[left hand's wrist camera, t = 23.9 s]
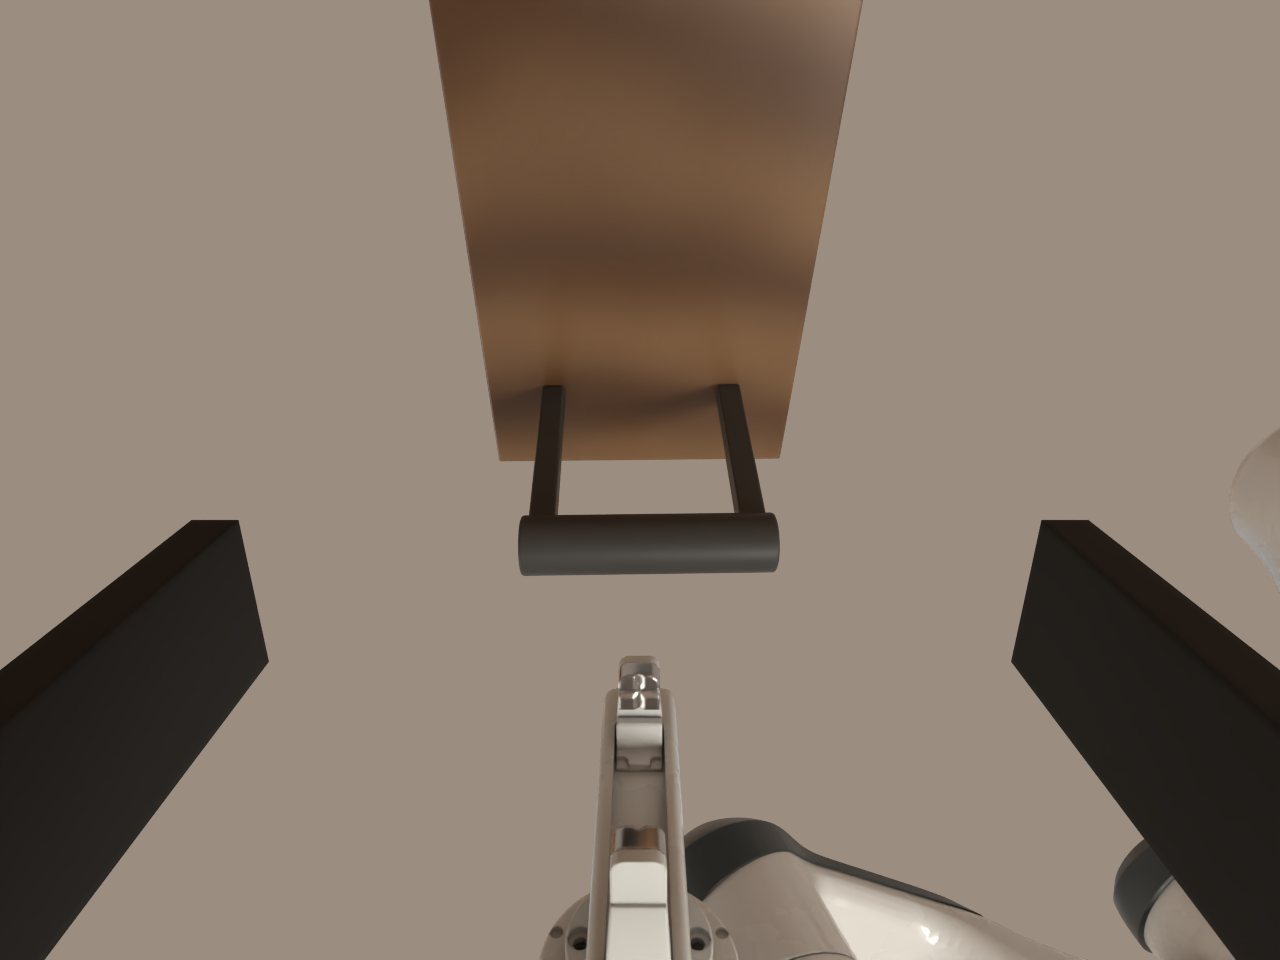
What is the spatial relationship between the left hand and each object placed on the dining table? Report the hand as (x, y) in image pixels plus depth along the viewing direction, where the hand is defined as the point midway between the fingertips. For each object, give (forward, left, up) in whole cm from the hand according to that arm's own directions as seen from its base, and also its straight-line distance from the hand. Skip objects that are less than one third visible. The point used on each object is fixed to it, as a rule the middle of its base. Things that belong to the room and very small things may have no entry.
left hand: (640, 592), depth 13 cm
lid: (+9, -9, -4) cm, 13 cm away
